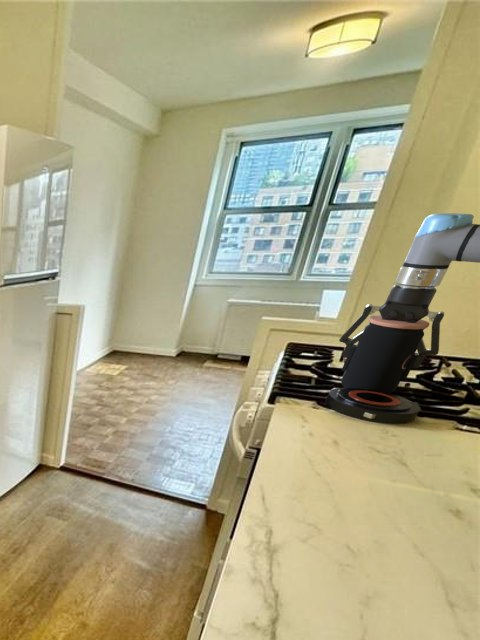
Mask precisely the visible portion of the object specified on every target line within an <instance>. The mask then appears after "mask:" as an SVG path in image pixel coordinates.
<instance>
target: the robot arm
mask: <svg viewBox="0 0 480 640" xmlns="http://www.w3.org/2000/svg"><path fill="white" fill-rule="evenodd" d="M473 220H474V215H473V214H472V213H459V212H457V213H456V212H455V213H454V212H449V213H447V212H446V213H445V212H444V213H440V212H439V213H432V214H430V215H428V216H426V217H425V218H424V220H423V222H422V224H421V226H420V228H419V229H418V232H417V233H416V234H415V236H414V239H413V241H412V243H411V246H410V248H409V250H408V252H407V255H406V257H405V260H404V262H403V264H402V265H401V267H400V269H399V271H398V274H397V276H396V279H395V281H394V283H395V285H393V286H392V287H391V289H390V291H389V294H388V295H387V297H386V300H385V302H384V304H381V306H380V305H373V304H371V303H370V304H367V305H366V306H365V307H364V308H363V312H362V313H361V315H360V316H359V318H357V319H356V320H355V322H354V323H352V325H351V326H350V327H349V328H348V329H347V330H346V331H345V332H344V334H343V335H341V337H340V338H339V342H340V343H344V344H345V347H344V349H343V352H342V354H341V357H342V358H346V359H345V361H344V363H343V366H342V368H341V369H340V371H341V372H345V370H346V368H347V366H348V364H349V362H350V360H351V357H352V355H353V353H354V351H355V349H356V346H357V344H356V343H358V342H359V340H360V338H361V336H362V334H363V331H364V330H362V331H361V332H359V333H358V334H356V335H355V336H354V337H352V338H350V336H352V334H353V333H354V332H355V331H356V330H357V329H358V328H359V327H360V326H361V325H362V324H363V323H364V322H365V320H366V319H367V318H368V317H370V316H373V315H374V314H375V313H376V312H378V313H379V315H381V316H382V320H395V321H404V322H409V323H416V322H417V321H419V320H423V319H425V318H426V317H428V320H429V321H428V322H432V323H431V334H430V336H431V337H430V348H426V344H425V341H424V337H423V338H422V339H421V340H420V342H419V344H418V346H417V350H416V352H417V353H416V352H415V354H414V355H413V357H412V359H411V361H410V363H409V365H408V367H407V369H406V371H405V373H404V375H403V377H402V379H401V381H400V382H406V380H407V378H408V376H409V374H410V372H411V370H412V369H416V370H418V369H419V368H420V367H421V365H422V363H423V361H424V360H425V358H426V357H428V356H437V355H438V354H439V352H440V334H441V322H442V321H443V319H444V316H445V312H444V311H431V310H429V307H430V305H431V304H432V301H433V299H434V297H435V296H436V293H437V292H438V289H437V288H436V287H439V286H440V285H441V284H442V281H443V279H444V277H445V275H446V274H447V271H448V269H449V267H450V265H451V263H452V262H467V263H479V264H480V224H477V223H474V221H473Z"/></svg>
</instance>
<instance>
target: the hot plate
mask: <svg viewBox="0 0 480 640" xmlns="http://www.w3.org/2000/svg"><path fill="white" fill-rule="evenodd" d="M324 404H325V405H326V407H327V408H329V409H330V410H331V411H332V410H333V412H334V411H335V412H336V413H339V414H342V415H344V416H347V417H349V418H354V419H357V420H362V421H366V422H371V423H378V424H386V425H404V424H405V425H406V424H411V423H413V422H414V421H415V420H416V418H417V416H418V414H419V413H420V411H421V407H420V405H418V404H417V403H416V402H414V401H412V400H410V399H408V398H405V397H402V396H399V395H397V394H393V393H386V392H382V391H377V390H370V389H362V388H344V387H337V388H333V389H331V390H329V391H328V393H327V396H326V398H325V401H324Z"/></svg>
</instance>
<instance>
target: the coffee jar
mask: <svg viewBox="0 0 480 640" xmlns="http://www.w3.org/2000/svg"><path fill="white" fill-rule="evenodd" d="M368 323H369V324H367V325H365V326H364V329H363V330H362V331H363V334H362V336H361V338H360V340H359V341H358V342H357V344H356V345H357V346H356V349H355V351H354V353H353V355H352V357H351V360H350V362H349V364H348V366H347V368H346V370H345V371H344V373H343V375H342V376H341V381H340V383H341V385H342V386H341V387H342V388H362V389H370V390H377V391H382V392H386V393H390V394H393V392H395V391H396V390H397V389H398V387H399V385H400V383H401V382H402V381H401V379H402V377H403V375H404V373H405V371H406V369H407V367H408V365H409V363H410V361H411V359H412V357H413V355H414V354H415V353H416V352H417V346H418V344H419V342H420V340H421V339H422V338H423V339H424V336H425V332H424V330H425V329H428V327H430V321H427V320H424V319H421V320H419V321H417V322H416V323H409V322H404V321H395V320H382V316H381V314H377V315H370V316H369V318H368Z"/></svg>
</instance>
